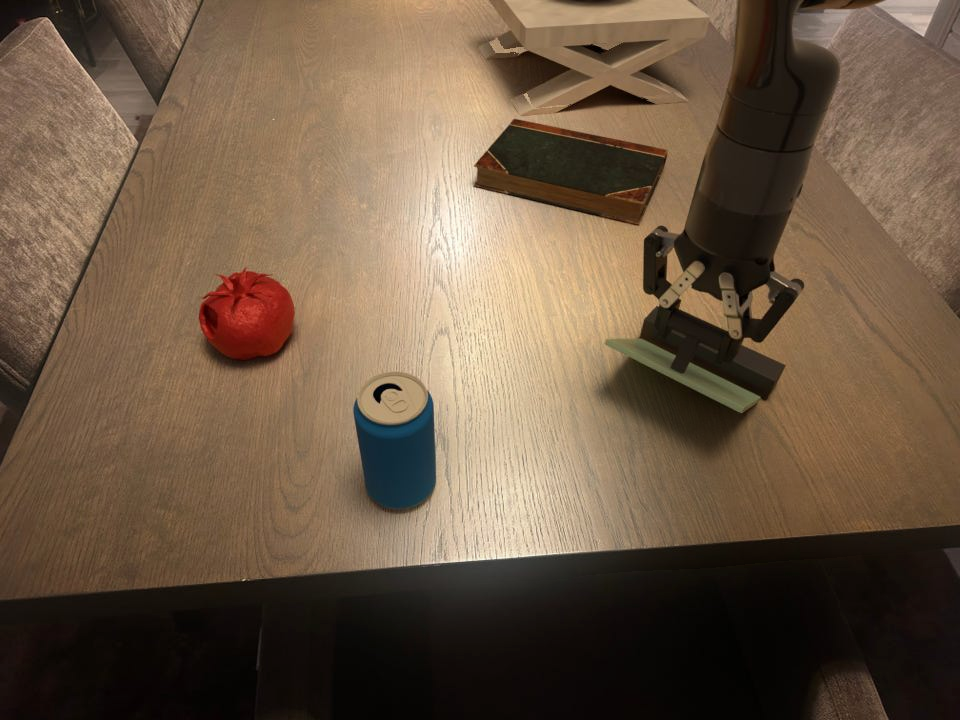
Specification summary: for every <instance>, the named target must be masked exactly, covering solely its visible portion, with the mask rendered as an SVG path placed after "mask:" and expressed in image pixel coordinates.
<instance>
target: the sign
mask: <svg viewBox="0 0 960 720" xmlns="http://www.w3.org/2000/svg"><path fill="white" fill-rule="evenodd" d="M667 327H668V328H670V329H672V330H674V331H676V332H679V333H681V334H683V335H685V336H686V337H685V339H684V341H683V343H682V345H681V347H680V349H679V351H678V353H677V355H674V354H672V353H670V352H668V351H666V350H664V349H662V348H660V347H658V346H655V345H653V344H651V343H649V342H647V341H645V340H643V339H639V338H606V339H605V341H604V345H605V346H607V347H609V348H610V349H613V350H615V351H616V352H619V353H621V354H624V356H626V357H629V358H630V359H633V360H634V361H637V362H639V363H640V364H642V365H645V366H646V367H649V368H650V369H652V370H654V371H656V372H658V373H660V374H662V375H664V376H666V377H668V378H670V379H672V380H674V381H676V382H678V383H680V384H682V385H684V386H686V387H688V388H690V389H692V390H694V391H695V392H698V393H700V394H702V395H703V396H706V397H707V398H710V399H711V400H713V401H716V402H718V403H719V404H721V405H724V406H726V407H727V408H729V409H731V410H733V411H735V412H737V413H739V414H743V413H744V412H746V411H748V410H749V409H750V408H752V407H754V406H755V405H757V404H758V403H759V402H760V401H761V400H762V398H761V397H760V396H758V395H756V394H754V393H752V392H749V391H747V390H745V389H743V388H741V387H739V386H737V385H735V384H733V383H731V382H729V381H727V380H725V379H723V378H721V377H719V376H717V375H715V374H713V373H711V372H709V371H707V370H705V369H702V368H700V367H698V366H696V365H694V364H692V363H690V361H691V359H692V357H693V355H694V353H695V351H696V349H697V347H698V345H699V343H702V344H704V345H706V346H708V347H710V348H712V349H715V350H717V351H719V348H720V346H721V343H722V340H723V338H724V335H725V334H726V333H727V331H728V330H726V329H723V328H721V327H720V326H717V325H715V324H713V323H711V322H709V321H706V320H704V319H702V318H700V317H697V316H696V315H693V314H691V313H689V312H687V311H684V310H682V309H680V308H679V309H676V310H675V311H674V312H673V313H672V315H671V317H670V319H669V321H668V325H667Z"/></svg>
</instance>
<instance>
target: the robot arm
mask: <svg viewBox="0 0 960 720" xmlns="http://www.w3.org/2000/svg"><path fill="white" fill-rule="evenodd" d="M885 1H886V0H735V27H734V28H735V29H734V45H733V58H732V66H731V72H730V77H729V80H728V82H727V83H728V84H727V87H726V90H725V94H724V97H723V100H722V104H721V108H720V112H719V116H718V117H717V123H716V126H715V128H714V131H713V133H712V135H711V138H710V140H709V141H708V145H707V147H706V149H705V152H704V156H703V158H702V163H701V166H700V170H699V174H698V177H697V181H696V184H695V187H694V191H693V195H692V199H691V202H690V205H689V208H688V212H687V217H686V220H685V224H684V228H683V230H682V231H681V233H680V234H679V233H674V232H669V230H668V228H667V227H666V226H665V225H658V226H657V227H655V228H654V229H653V230H652V231H651V232H650V233H649V234H648V235H647V236H646V237H644V239H643V258H642V259H643V261H642V262H643V263H642V265H643V267H642V290H643V292H644V293H645V294H646V295H649V296H654V298H656V300H658V307H659V308H658V312H657V315H656V319H655V322H654V328H655V330H658V333H657V336H658V337H660V338H662V339H665V338H666V337H667V335H668V334H669V333H670V332H671V331H672V329H670V328H668V327H667V325H668V321H669V319H670V317H671V315H672V313H673V312H674V311H675V310H676V309H680V308H681V307H680V306H681V303H682V299H680V297H681V296H682V295H683V294H684V293H685V292H686V291H687V290H688V288H689V287H690V288H691V289H693V290H695V291H697V292H700V293H705V294H708V295H710V296H711V297H713V298H714V299H716V300H718V301H720V302H722V307H723V315H724V317H725V318H726V322H727V330H726V331H727V333H726V334H725V335H724V338H723V340H722V343H721V346H720V348H719V351H718V354H717V356H716V359H715V362H714V363H715V364H717V365H719V366H722V365H723V364H724V363H725V362H726V363H728V364H729V363H730V362H732V361H733V359H734V358H735V357H736V355H737V354H738V352H739V350H740V347H741V345H743V342H744V339H751V341H753V342H754V343H757V344H759V343H762V342H764V341H765V339H766V338H767V337H768V335H769V334H770V333H771V332H772V330H774V328H775V327H776V326H777V324H778V323H779V322H780V321H781V319H782V318H783V317H784V315H785V314H786V313H787V312H788V310H789V309H790V308H791V307H792V306H793V304H794V303H795V301H796V300H797V298H798V297H799V296H800V295H801V293H802V291H803V290H804V289H805V282H804V281H803V280H802V279H801V278H792V279H788V278H786V277H785V276H784V275H781V274H780V273H778V272H777V271H776V265H775V260H774V259H775V254H776V251H777V249H778V246H779V244H780V241H781V238H782V236H783V234H784V231H785V228H786V226H787V223H788V221H789V218H790V216H791V213H792V211H793V209H794V207H795V203H796V201H797V199H798V198H799V197H800V195H801V192H802V189H803V188H804V187H803V186H804V182H805V178H806V175H807V173H808V169H809V165H810V161H811V157H812V153H813V149H814V146H815V143H816V141H817V138H818V136H819V133H820V130H821V128H822V125H823V123H824V120H825V118H826V115H827V113H828V110H829V107H830V105H831V102H832V100H833V97H834V95H835V92H836V90H837V87H838V84H839V80H840V77H841V76H840V74H841V64H840V60H839V59H838V57H837V56H836V55H835V54H834V53H833V52H832V51H830V49H828V48H826V47H824V46H822V45H819V44H817V43H814V42H812V41H811V42H810V41H807V40H804V39H799V38H797V37H794V19H795V15H796V13H797V11H798V10H857V9H858V10H859V9H864V8H869V7H872V6H875V5H877V4H880V3H883V2H885ZM673 249H674V252H675V254H676V257H677V259H678V262H679V265H680V267H681V270H682V274H681V275H680V276H679V277H677V279H676V280H675V281H674V282H673V283H671V282H670V281H669V280H667V278H668V277H667V275H668V255H669V254H670V253H672V251H673ZM765 285H766V286H767V287H768V293H767V299H768V302H769V304H771V305H770V307H769V308H768V309H767V311H766V312H765V314H764V315H763V316H762V317H761V318H755V317H753V312H752V303H753V299H754V296H753V295H754V294H753V291H755V290H757V289H759V288H761V287H762V286H765Z"/></svg>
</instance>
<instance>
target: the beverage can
mask: <svg viewBox="0 0 960 720" xmlns="http://www.w3.org/2000/svg"><path fill="white" fill-rule="evenodd" d="M434 406H435V405H434V399H433V398H432V395H431V393H430V391H429V390H428V389H427V387H426V385H425V383H424V382H423V381H422V380H421V379H419V377H417V376H416V375H414V374H411V373H409V372H404V371H400V370H399V371H397V370H393V371H385V372H381V373H378V374H375V375H373V376H371V377H369V378H368V379H367V380H365V382H364V383H363V384H362V385H361V386H360V388H359V390H358V392H357V396H356V398H355V401H354V404H353V410H352V412H353V413H352V414H353V419H354V425H355V429H356V430H355V431H356V437H357V443H358V450H359V454H360V455H359V456H360V461H361V467H362V472H363V473H362V474H363V479H364V485H365V489H366V491H367V494H368V495H369V497H370V498H371V499H372V500H373V501H374V502H375V503H376V504H378V505H380V506H382V507H385V508H388V509H393V510H405V509H410V508H412V507H413V508H414V507H416V506H419V504H421V503H423V502H424V501H426V499H428V498H429V497H430V495H431V494H432V493H433V491H434V489H435V486H436V483H437V459H436V433H435V407H434Z"/></svg>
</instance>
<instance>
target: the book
mask: <svg viewBox="0 0 960 720" xmlns="http://www.w3.org/2000/svg"><path fill="white" fill-rule="evenodd" d="M668 152H669V150H668V149H666V148H661V147H656V146H651V145H647V144H640V143H636V142H631V141H628V140H627V141H626V140H623V139H622V140H621V139H616V138H611V137H606V136H601V135H598V134H597V135H596V134H591V133H588V132H581V131H577V130H573V129H572V130H571V129H567V128H562V127H557V126H553V125H548V124H542V123H537V122H532V121H529V120H523V119H519V118H513V119H512V120H511V121H510V123H509V124H508V125H507V127H505V129H504V130H503V131H502V133H500V134H499V136H498V137H497V138H496V139H495V140H494V141H493V143H491V145H490V146H489V147H488V149H487V150H486V151H485V152H484V153H483V154H482V156H480V157H479V158H478V160H477V161H476V163H475V164H474V165H473V167H474V168H476V181H475V183H474V184H473V186H474V187H477V188H482V189H485V190H490V191H495V192H499V193H503V194H507V195H512V196H515V197H520V198H522V199H523V198H524V199H526V200H527V199H528V200H531V201H535V202H540V203H543V204H544V203H545V204H548V205H553V206H556V207H561V208H564V209H565V208H566V209H570V210H573V211H578V212H582V213H587V214H590V215H594V216H595V215H596V216H599V217H603V218H607V219H612V220H615V221H621V222H624V223H629V224H633V225H637V226H639V225H640V223H641V221H642V219H643V217H644V216H645V212H646V210H647V208H648V206H649V203H650V201H651V199H652V198H653V194H654V192H655V190H656V187H657V185H658V183H659V181H660V178H661V176H662V174H663V172H664V170H665V166H666V162H667V157H668Z"/></svg>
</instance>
